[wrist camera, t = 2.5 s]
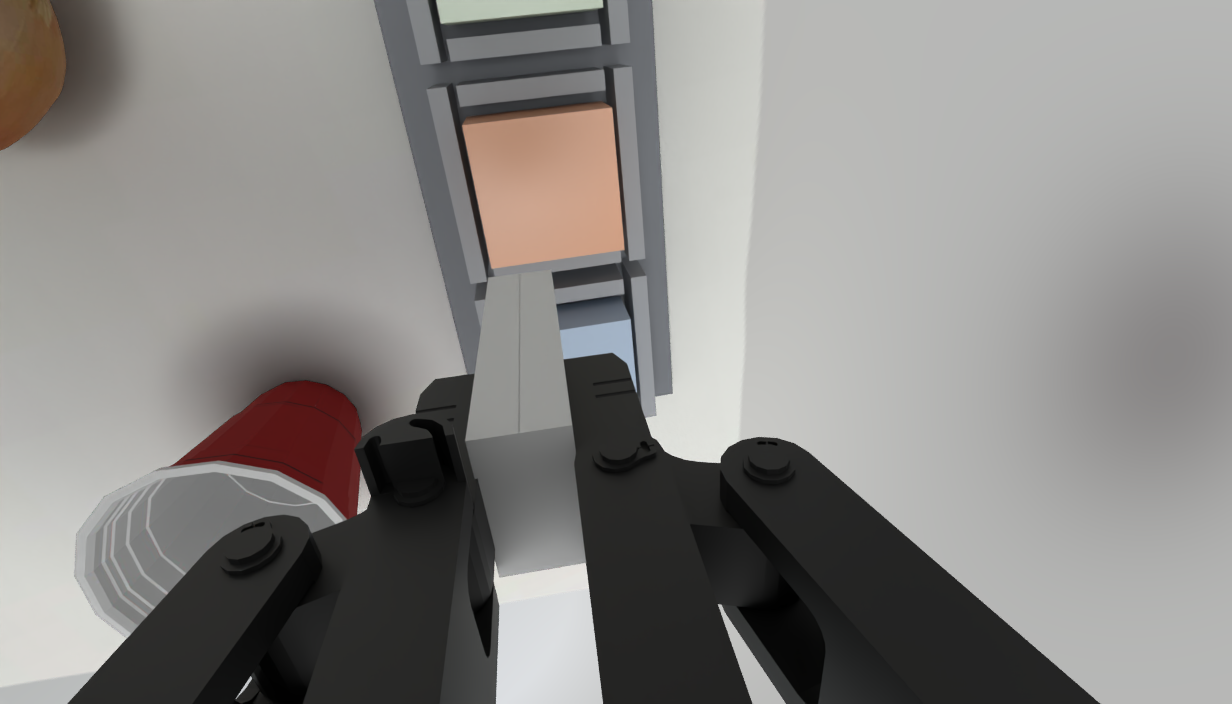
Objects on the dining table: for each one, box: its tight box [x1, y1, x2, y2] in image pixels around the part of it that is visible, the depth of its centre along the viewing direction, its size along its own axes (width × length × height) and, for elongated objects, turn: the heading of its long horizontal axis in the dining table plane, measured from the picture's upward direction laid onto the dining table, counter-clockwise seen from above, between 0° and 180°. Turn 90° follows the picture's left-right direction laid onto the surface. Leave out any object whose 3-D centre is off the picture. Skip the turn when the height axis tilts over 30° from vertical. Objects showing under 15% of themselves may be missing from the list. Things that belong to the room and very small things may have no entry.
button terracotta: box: [462, 101, 625, 269], centre depth 26 cm, size 6×6×3 cm
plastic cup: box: [74, 380, 362, 638], centre depth 29 cm, size 11×11×12 cm
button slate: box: [556, 296, 637, 392], centre depth 31 cm, size 6×6×3 cm
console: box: [374, 0, 673, 418], centre depth 26 cm, size 38×12×4 cm, turn 5°
